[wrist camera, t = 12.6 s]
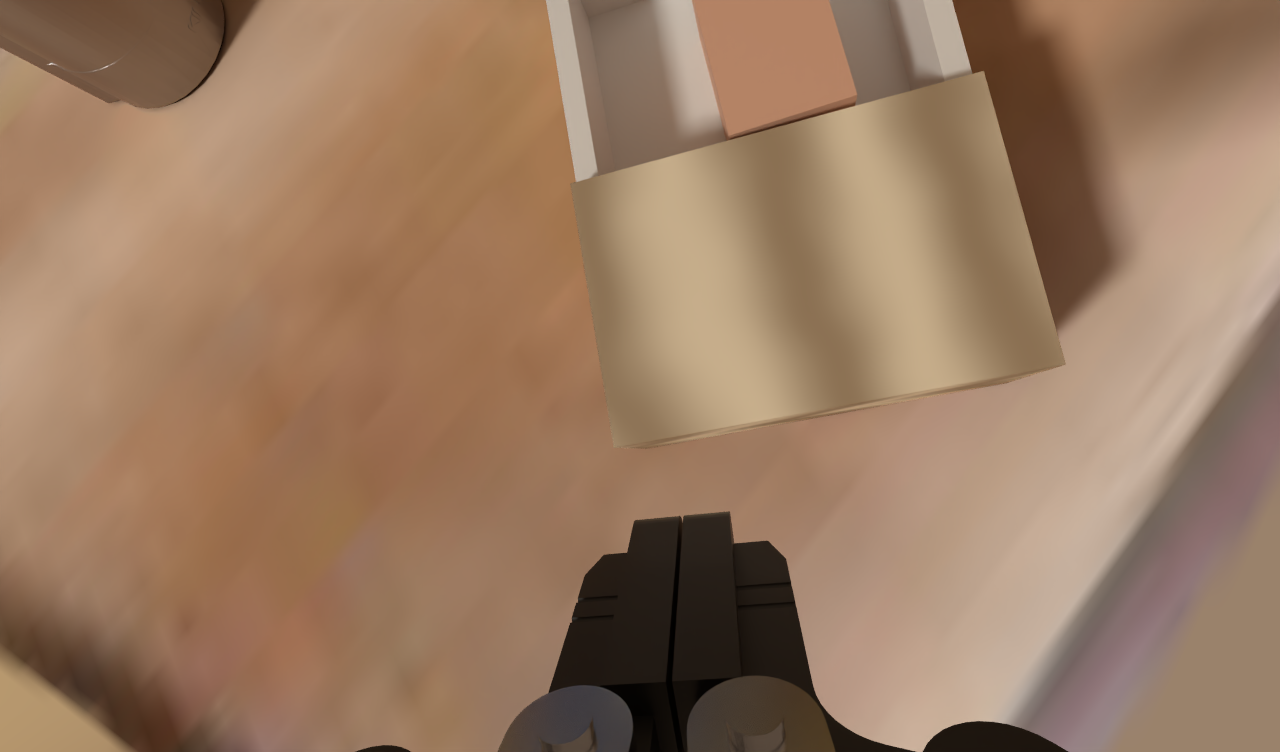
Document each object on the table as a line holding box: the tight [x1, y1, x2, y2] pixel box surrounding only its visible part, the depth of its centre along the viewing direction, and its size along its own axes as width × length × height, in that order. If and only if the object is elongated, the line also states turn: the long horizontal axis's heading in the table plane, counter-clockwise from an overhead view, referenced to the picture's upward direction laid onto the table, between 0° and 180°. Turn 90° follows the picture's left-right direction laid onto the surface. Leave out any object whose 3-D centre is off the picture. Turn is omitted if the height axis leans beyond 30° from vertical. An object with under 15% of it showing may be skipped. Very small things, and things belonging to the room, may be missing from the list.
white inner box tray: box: [546, 0, 972, 182], centre depth 29 cm, size 16×12×5 cm
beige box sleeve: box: [571, 71, 1066, 449], centre depth 27 cm, size 16×11×6 cm
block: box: [692, 0, 857, 141], centre depth 28 cm, size 5×5×8 cm
